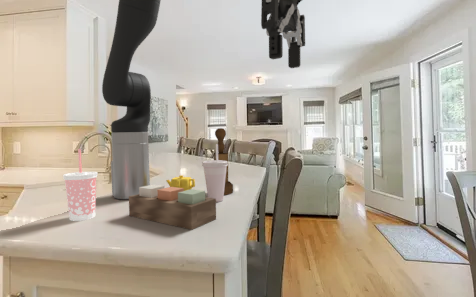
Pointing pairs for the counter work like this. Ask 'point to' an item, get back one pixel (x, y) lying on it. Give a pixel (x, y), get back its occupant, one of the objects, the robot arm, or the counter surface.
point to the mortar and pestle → (223, 158)
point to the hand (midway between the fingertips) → (285, 63)
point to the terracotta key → (169, 193)
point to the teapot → (182, 182)
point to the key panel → (173, 211)
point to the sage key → (191, 196)
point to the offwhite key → (149, 190)
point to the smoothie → (215, 177)
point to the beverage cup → (81, 193)
